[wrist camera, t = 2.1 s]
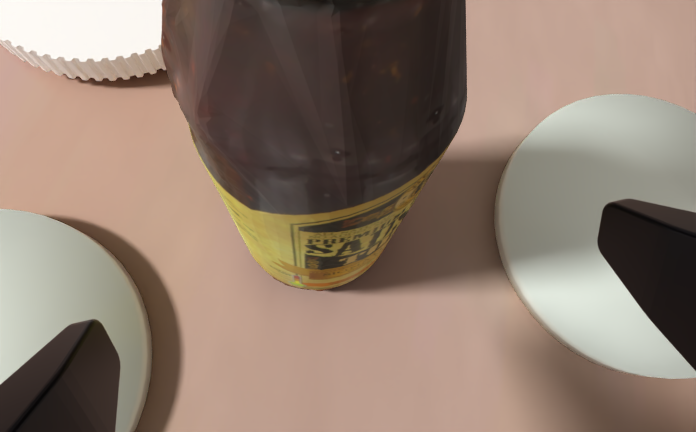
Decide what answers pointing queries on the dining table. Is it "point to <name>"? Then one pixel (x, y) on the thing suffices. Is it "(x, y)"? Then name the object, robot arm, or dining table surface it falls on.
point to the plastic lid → (85, 36)
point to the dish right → (593, 222)
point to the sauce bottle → (318, 119)
